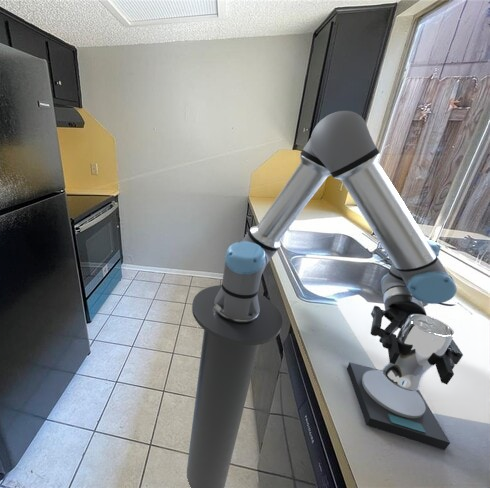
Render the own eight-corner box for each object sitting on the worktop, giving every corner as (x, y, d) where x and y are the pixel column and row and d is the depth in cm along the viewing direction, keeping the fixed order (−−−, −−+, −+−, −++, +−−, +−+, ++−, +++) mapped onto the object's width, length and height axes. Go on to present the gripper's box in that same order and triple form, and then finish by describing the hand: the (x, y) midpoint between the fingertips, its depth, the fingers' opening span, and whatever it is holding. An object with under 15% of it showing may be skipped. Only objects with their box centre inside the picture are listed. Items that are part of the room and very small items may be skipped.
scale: (346, 368, 67) (350, 359, 65) (407, 385, 63) (413, 375, 62) (366, 425, 54) (371, 415, 52) (444, 450, 50) (452, 440, 49)
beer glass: (415, 399, 52) (451, 343, 46) (374, 374, 57) (402, 320, 51) (426, 383, 55) (460, 328, 49) (387, 360, 60) (413, 308, 54)
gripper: (449, 335, 63) (485, 411, 45) (352, 304, 73) (351, 357, 56) (465, 310, 60) (509, 381, 42) (361, 282, 70) (363, 330, 52)
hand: (420, 367), depth 49 cm, fingers closed on beer glass, 7 cm apart
